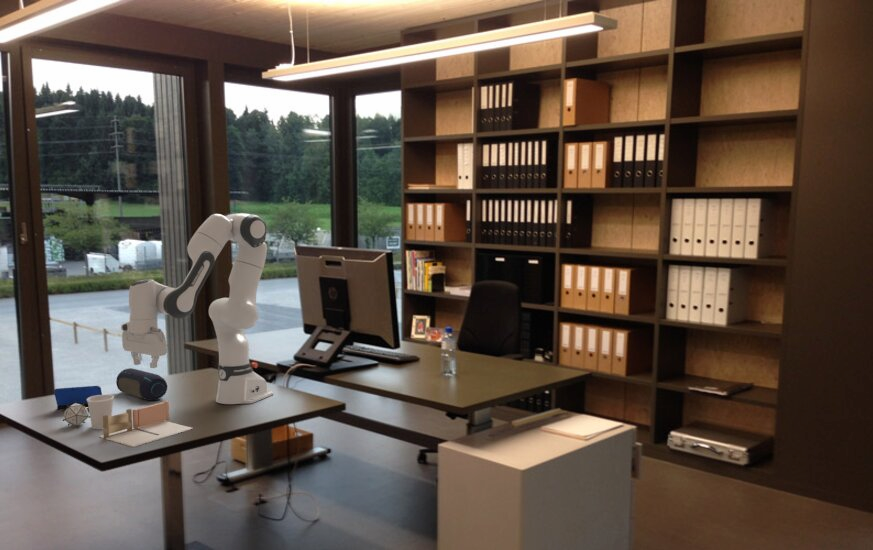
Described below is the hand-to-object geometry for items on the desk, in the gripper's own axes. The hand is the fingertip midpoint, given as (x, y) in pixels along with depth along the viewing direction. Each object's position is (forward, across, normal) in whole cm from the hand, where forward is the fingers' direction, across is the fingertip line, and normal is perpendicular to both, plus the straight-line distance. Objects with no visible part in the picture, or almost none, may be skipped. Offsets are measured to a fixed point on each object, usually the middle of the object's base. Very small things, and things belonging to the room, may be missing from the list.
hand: (145, 366), depth 247 cm
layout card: (+19, -13, +9) cm, 25 cm away
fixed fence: (+19, -7, +15) cm, 25 cm away
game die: (+19, +14, +17) cm, 29 cm away
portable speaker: (+20, +31, -19) cm, 41 cm away
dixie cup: (+19, +6, +13) cm, 24 cm away
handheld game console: (+20, +36, +2) cm, 41 cm away
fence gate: (+19, -7, +3) cm, 20 cm away
